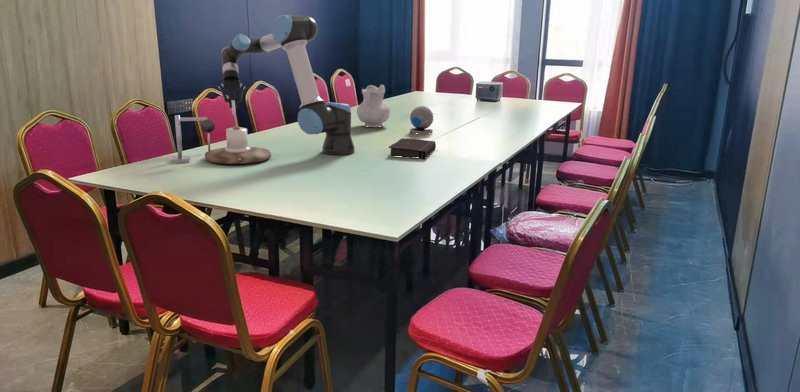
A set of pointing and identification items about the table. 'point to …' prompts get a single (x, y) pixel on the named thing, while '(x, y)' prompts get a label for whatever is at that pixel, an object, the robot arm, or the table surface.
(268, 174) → the table surface
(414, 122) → the webcam
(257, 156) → the turntable
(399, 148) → the diary
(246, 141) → the canister
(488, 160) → the table surface
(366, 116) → the ceramic pitcher
